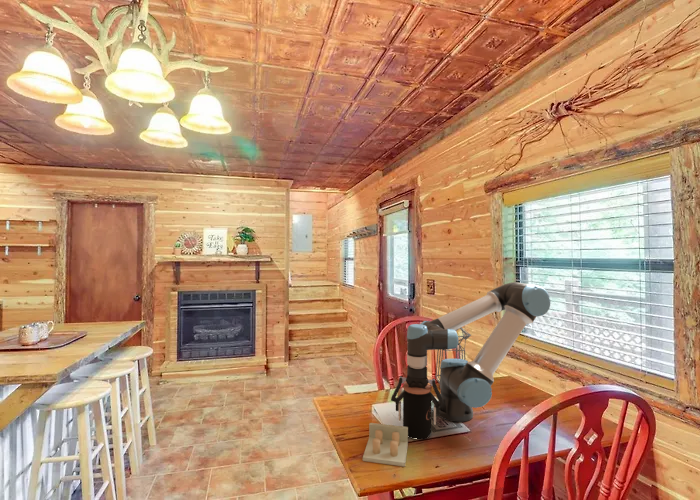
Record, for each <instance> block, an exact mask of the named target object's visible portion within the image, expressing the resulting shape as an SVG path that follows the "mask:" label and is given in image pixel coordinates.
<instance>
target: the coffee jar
mask: <svg viewBox="0 0 700 500" xmlns="http://www.w3.org/2000/svg"><path fill="white" fill-rule="evenodd" d="M402 385H403V386H402V387H403V390H405V392H404V393H403V398H402V426H404V427H408V436H409V437H412V438H417V439H423V440H426V439H428V438H429V437H430V436H431V434H432V401H431V395H430V392H431V391H432V386H431V385H430V383H428V384H427V386H426V387H425V388H426V389H422V388H417V387H412V388H410V387H408V386H409V385H408V384H407V382H404V383H403V384H402ZM431 393H432V392H431ZM428 436H429V437H428ZM409 437H408V438H409ZM427 437H428V438H427ZM412 438H411V439H412Z"/></svg>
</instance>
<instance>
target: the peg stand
mask: <svg viewBox="0 0 700 500" xmlns="http://www.w3.org/2000/svg"><path fill="white" fill-rule="evenodd" d="M368 426H369V427H368V428H369V429H368V430H369V431H368V435H369V436H368V441H367V443H366V445H365V446H366V447H365V450H364V452H363V455H362V461H363V462H369V463H375V464H376V463H377V464H382V465H383V464H384V465H389V466H390V465H392V466H399V467H406V463H407V462H406V461H407V455H408V453H407V452H408V447H409V446H408V445H409V437H408V427H404V426H403V425H402V426H401V425H396V424H395V425H394V424H393V425H392V424H384V423H377V422H375V423H374V422H369V424H368Z"/></svg>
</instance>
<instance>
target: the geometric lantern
mask: <svg viewBox="0 0 700 500" xmlns="http://www.w3.org/2000/svg"><path fill="white" fill-rule="evenodd" d="M458 330H460V331H461V333H462V335H458V338H460V339H458V346H457V347H456V348H455V349H449V350H447V349H441V350H437V352H436V353H437V354H436V365H435V375H434V376H435V378H436V379H435V380H436V381H437V382H438V384H439V388H440V389H441V384H440V366H441V361H442V360H444V359H447V352H448V351H451V352H452V351H453V352H455V359H463V360H466V346H464V347H463V346H462V345H461V343H462V341H463V340H464V344H466V342H467V340H468V339H469V338H470V337H471V336H472V334H470V333H469V332H468V331H467V330H465V328H463V327H461V328H459V329H456V330H455V331H456V332H457V331H458ZM458 356H459V357H458ZM443 357H444V358H443Z"/></svg>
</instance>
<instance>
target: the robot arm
mask: <svg viewBox="0 0 700 500" xmlns="http://www.w3.org/2000/svg"><path fill="white" fill-rule="evenodd" d="M550 307H551V299H550V294H549V293H548V291H547V290H546V289H545V288H544V287H542V286H540V285H536V284H533V283H523V282H518V281H512V282H507V283H504V284H502V285H500V286H497V287H495V288H493V289H491V290H490V291H489V290H488V291H487V292H486V295H483V296H481V297H479V298H478V299H476V300H473V301H470V302H469V303H467V304H465V305H463V306H461V307H459V308H457V309H454V310H452V311H450V312H447V313H446V314H443V315H441V316H439V317H438V318H435V319H433V320H423V321H421V323H420V324H418V323H411V324H409V325H408V326H407V331H406V333H407V334H406V343H407V345H406V347H407V348H406V349H407V354H406V358H407V359H406V363H407V366H406V367H407V368H406V369H407V370H406V375H407V376H406V377H403V376H402V375H400V376H399V379H398V383H397V384H396V387H395V389H394V391H393V393H392V395H391V397H390V402H394V403H395V411H396V412H398V422H401V420H402V400H403V393H404V392H405V390H404V389H403V390H402V391H401V393H399V392H400V389H401V386H402V385H403V384H405V383H407V384H408V385H409V386H408V387H410V388H412V387H417V388H422V389H426V388H425V387H426V386H427V384H429V385H430V386H431V387H432V389H433V392H434V394H435V396H436V397H435V396H434V394H433V393H432V392H430V395H431V403H432V404H433V425H434V426H435V425H437V416H439V417H440V418H443V419H444V420H448V421H450V422H456V423H457V422H460V423H461V422H468V421H470V420H472V419H473V417H474V410H473V408H475V409H477V408H482V407H485V405H487V404H488V403H489V402H490V400H491V398H492V397H493V396H492V395H493V392H492V391H493V389H492V385H493V384H494V382H495V380H494V374H495V372H496V371H497V370H498V368H499V367H500V366H501V365H500V364H501V363H503V360H504V359H505V358H506V355H507V354H508V353H509V352H510V349H511V348H512V347H513V345H514V344H515V342H516V341H517V339H518V338H519V336H520V334H521V333H522V332H523V330H524V329H525V327H526V325H529V324H533V322H534V321H535V319H536V318H537V317H542V316H544V315H546V314H547V313H548V312H549V310H550ZM502 311H505V312H504V313H503V315H502V317H501V318H500V320H499V321H498V323H497V324H496V325H495V328H493V331H491V333H490V334H489V336H488V338H487V339H486V341H485V342H484V344H483V345H482V347H481V349H480V350H479V351H478V353H476V355H475V357H474V358H473V360H472V361H471V360H470V361H468V360H467V359H465V360H464V358H463V359H462V358H460V359H459V358H457V359H456V358H446V359H445V358H443V360H442V361H441V360H440V367H439V375H440V376H439V379H440V380H439V381H440V384H441V385H440V384H439V385H440V386H441V388H440V389H439V388H438V386H437V384H436V383H437V382H436V381H437V380H436V379H435V378H431V379H428V367H427V366H428V351H432V350H433V351H435V350H436V351H438V350H439V351H440V350H441V351H442V349H446V350H456V347H457V348H458V347H459V345H458V340H459V337H458V336H459V335H458V333H457V331H455V330H456V329H458V330H460V328H461V327H462V328H463V327H465V326H468V325H469V324H471V323H473V322H475V321H477V320H479V319H481V318H484V317H487V316H488V315H490V314H493V313H494V312H496V313H497V312H498V313H500V312H502ZM439 390H440V391H439ZM398 393H399V395H398ZM397 395H398V396H397Z"/></svg>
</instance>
